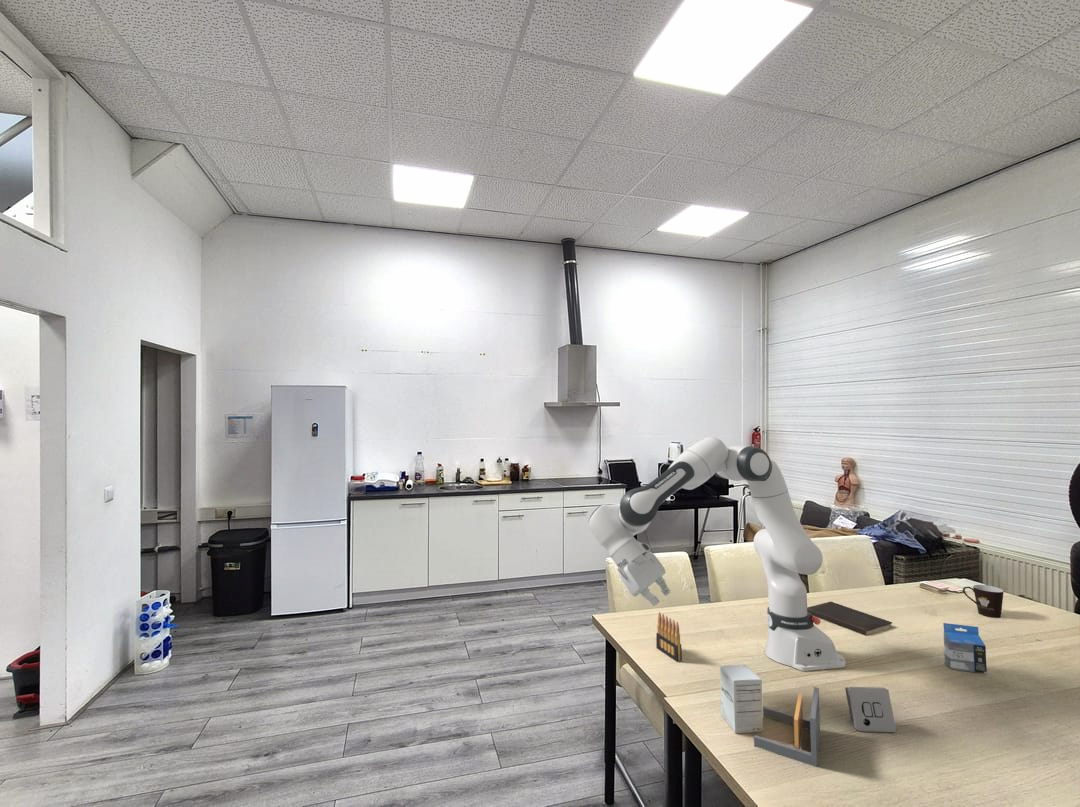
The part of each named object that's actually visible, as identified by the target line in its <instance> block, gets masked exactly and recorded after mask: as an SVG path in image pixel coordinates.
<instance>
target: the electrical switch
mask: <svg viewBox="0 0 1080 807" xmlns="http://www.w3.org/2000/svg"><path fill="white" fill-rule="evenodd" d="M844 689H845V695H846V700H847V706H848V712H849V717H850V723H851V724H852V725H853V727H854V729H855V730H856V731H858V732H869V733H870V732H874V733H875V732H878V733H880V732H881V733H896V731H897V728H896V727H897V726H896V723H895V716H894V712H893V707H892V702H891V697H890V692H889V690H888V689H887V688H885V687H884V686H883V687H881V686H880V687H878V686H848V687H844Z"/></svg>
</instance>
